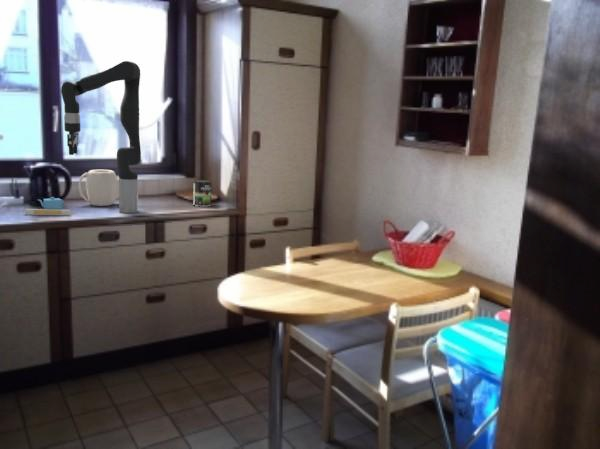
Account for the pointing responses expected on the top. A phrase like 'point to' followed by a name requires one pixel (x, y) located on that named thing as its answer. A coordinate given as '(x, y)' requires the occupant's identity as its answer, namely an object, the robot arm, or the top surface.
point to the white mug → (100, 187)
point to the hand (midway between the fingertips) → (73, 154)
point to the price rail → (46, 212)
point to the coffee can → (202, 193)
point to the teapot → (52, 203)
